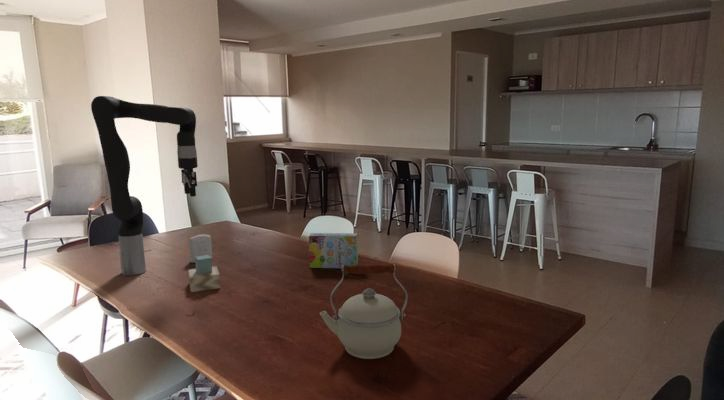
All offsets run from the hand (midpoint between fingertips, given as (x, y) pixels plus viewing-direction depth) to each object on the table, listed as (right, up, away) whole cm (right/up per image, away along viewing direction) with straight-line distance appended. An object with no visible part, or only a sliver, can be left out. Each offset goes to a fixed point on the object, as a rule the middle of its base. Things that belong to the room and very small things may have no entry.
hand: (190, 195), depth 194 cm
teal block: (+10, -31, -11) cm, 34 cm away
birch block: (+10, -37, -10) cm, 39 cm away
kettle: (+73, -45, -62) cm, 106 cm away
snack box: (+60, -32, +11) cm, 69 cm away
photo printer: (-3, -31, +23) cm, 38 cm away
